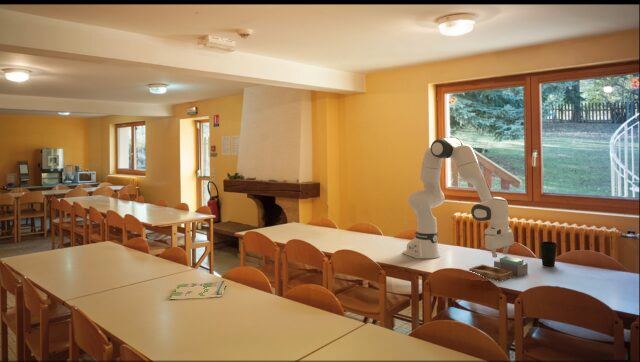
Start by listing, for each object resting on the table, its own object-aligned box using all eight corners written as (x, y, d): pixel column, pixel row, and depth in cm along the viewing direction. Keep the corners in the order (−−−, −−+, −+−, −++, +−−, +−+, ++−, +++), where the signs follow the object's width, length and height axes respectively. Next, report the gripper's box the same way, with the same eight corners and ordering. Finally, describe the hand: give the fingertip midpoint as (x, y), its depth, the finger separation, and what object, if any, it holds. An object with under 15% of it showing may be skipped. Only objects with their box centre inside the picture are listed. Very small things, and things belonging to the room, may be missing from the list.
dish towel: (221, 298, 189) (221, 290, 189) (169, 301, 187) (168, 294, 187) (227, 286, 206) (226, 279, 206) (178, 289, 204) (178, 281, 204)
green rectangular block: (492, 270, 217) (492, 256, 216) (498, 268, 220) (498, 254, 220) (516, 275, 206) (516, 261, 206) (523, 273, 210) (523, 259, 209)
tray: (469, 273, 213) (469, 268, 212) (482, 269, 219) (482, 264, 219) (500, 281, 199) (500, 276, 199) (513, 276, 205) (513, 271, 205)
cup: (558, 267, 217) (559, 244, 216) (542, 267, 218) (542, 244, 218) (553, 263, 224) (554, 241, 224) (538, 263, 226) (538, 241, 225)
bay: (500, 272, 212) (500, 263, 211) (510, 269, 217) (510, 259, 217) (517, 276, 204) (517, 266, 204) (527, 273, 210) (527, 263, 209)
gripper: (505, 225, 224) (505, 251, 225) (482, 230, 212) (482, 258, 213) (516, 226, 219) (517, 253, 220) (493, 232, 207) (494, 260, 208)
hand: (500, 255), depth 216 cm, fingers open, 8 cm apart
